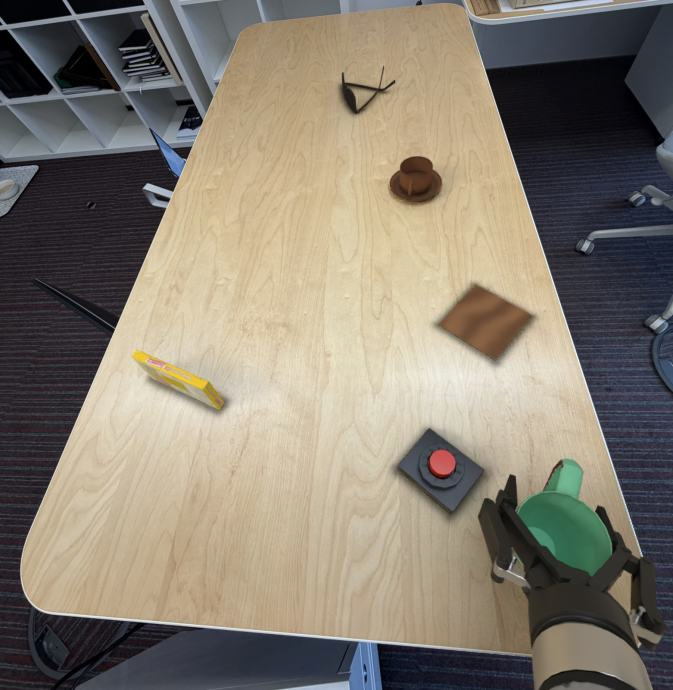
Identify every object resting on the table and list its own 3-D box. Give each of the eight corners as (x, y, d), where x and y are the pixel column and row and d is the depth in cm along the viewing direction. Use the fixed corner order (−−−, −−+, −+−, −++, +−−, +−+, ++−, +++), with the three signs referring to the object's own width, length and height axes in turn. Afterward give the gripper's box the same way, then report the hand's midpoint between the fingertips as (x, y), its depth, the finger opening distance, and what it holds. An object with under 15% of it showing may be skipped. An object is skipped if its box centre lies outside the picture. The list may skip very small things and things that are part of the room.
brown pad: (531, 316, 76) (532, 315, 76) (495, 360, 72) (495, 359, 72) (475, 285, 81) (475, 284, 81) (438, 325, 77) (438, 323, 77)
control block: (481, 473, 63) (487, 466, 59) (450, 514, 60) (454, 510, 57) (428, 432, 67) (430, 423, 64) (397, 469, 65) (397, 462, 61)
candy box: (226, 400, 74) (209, 380, 67) (220, 411, 73) (201, 391, 66) (159, 369, 79) (136, 348, 72) (152, 378, 78) (128, 357, 71)
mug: (569, 607, 49) (606, 610, 40) (485, 568, 52) (504, 563, 43) (588, 490, 55) (623, 471, 47) (512, 461, 58) (533, 438, 50)
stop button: (458, 464, 60) (460, 460, 59) (444, 482, 59) (445, 480, 58) (438, 448, 62) (439, 444, 60) (423, 466, 61) (424, 463, 59)
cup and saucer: (444, 204, 94) (447, 180, 89) (391, 208, 95) (391, 186, 90) (437, 170, 100) (440, 147, 95) (387, 175, 101) (387, 152, 96)
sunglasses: (400, 104, 116) (400, 85, 112) (351, 116, 116) (349, 98, 112) (384, 76, 125) (383, 57, 121) (338, 86, 125) (336, 69, 121)
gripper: (429, 626, 36) (455, 490, 56) (737, 777, 29) (640, 560, 49) (453, 558, 34) (471, 442, 54) (791, 705, 27) (666, 509, 47)
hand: (551, 499), depth 52 cm, fingers closed on mug, 9 cm apart
